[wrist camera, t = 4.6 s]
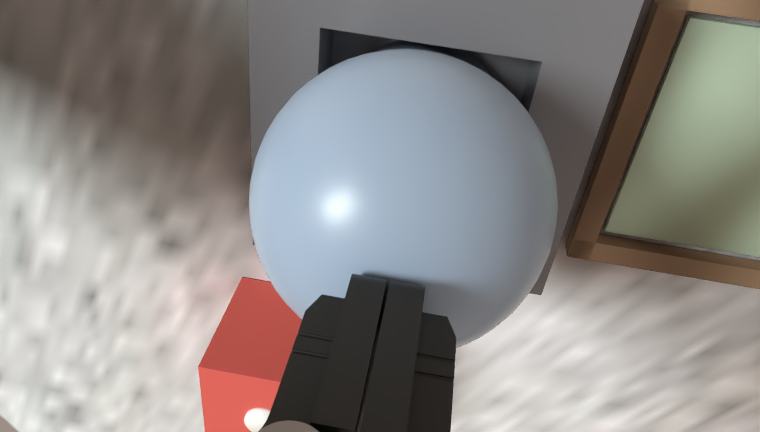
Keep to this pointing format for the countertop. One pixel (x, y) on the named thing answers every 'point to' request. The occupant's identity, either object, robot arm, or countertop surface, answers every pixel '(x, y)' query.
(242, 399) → the die
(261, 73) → the housing
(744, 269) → the window frame
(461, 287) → the pale blue sphere
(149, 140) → the countertop surface
